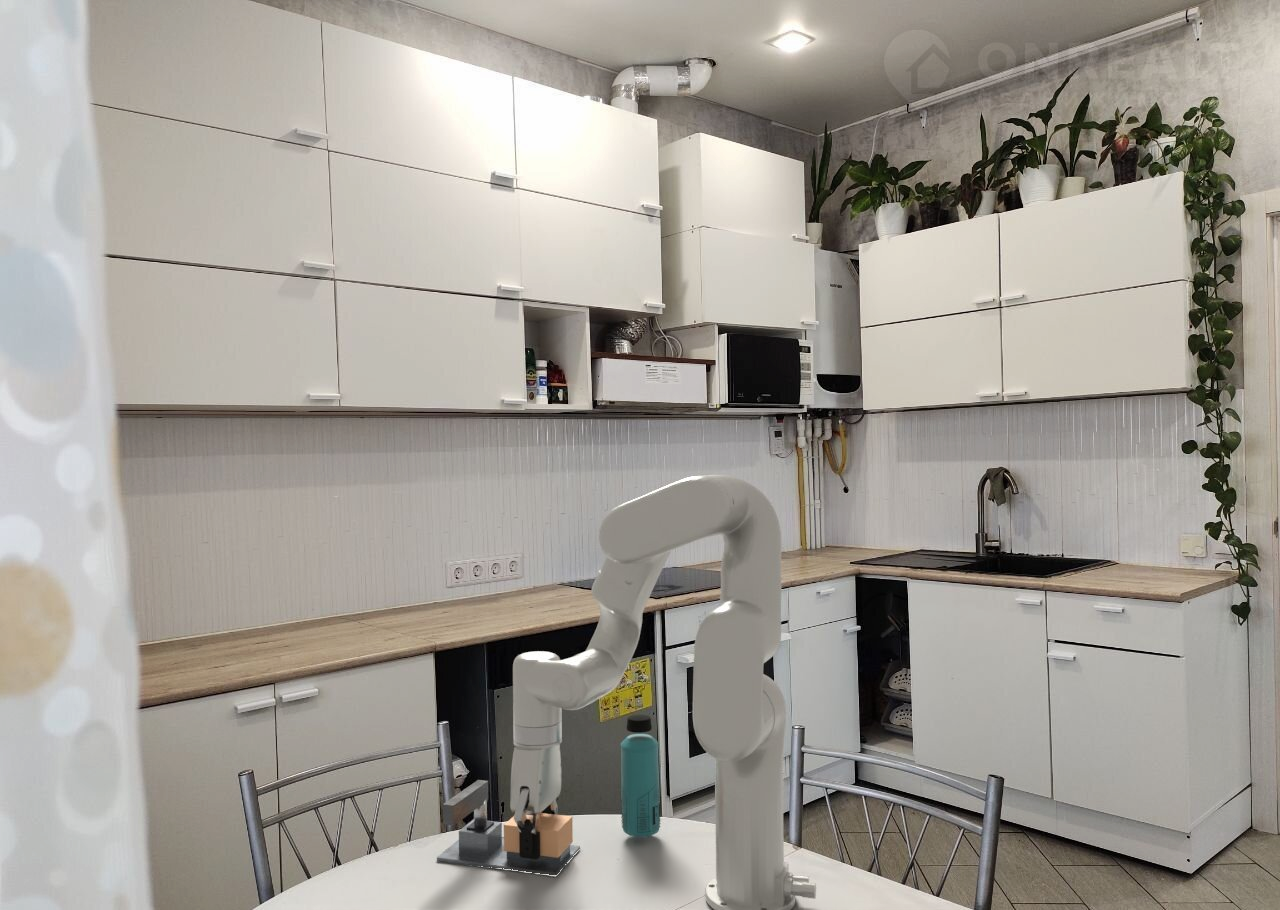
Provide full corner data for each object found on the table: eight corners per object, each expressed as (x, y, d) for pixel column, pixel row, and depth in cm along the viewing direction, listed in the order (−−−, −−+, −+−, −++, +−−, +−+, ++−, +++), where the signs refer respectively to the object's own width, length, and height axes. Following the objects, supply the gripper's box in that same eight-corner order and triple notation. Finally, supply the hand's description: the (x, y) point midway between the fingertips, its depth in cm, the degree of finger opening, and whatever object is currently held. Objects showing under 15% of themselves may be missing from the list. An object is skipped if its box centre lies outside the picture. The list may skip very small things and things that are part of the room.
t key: (454, 849, 135) (454, 805, 135) (442, 847, 135) (442, 804, 136) (489, 821, 145) (488, 781, 145) (477, 820, 146) (477, 779, 146)
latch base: (580, 849, 145) (579, 822, 145) (556, 877, 135) (555, 848, 136) (467, 836, 151) (467, 810, 151) (436, 861, 141) (436, 833, 141)
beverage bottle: (657, 847, 145) (655, 722, 146) (616, 844, 147) (615, 720, 147) (664, 831, 152) (662, 711, 152) (625, 829, 153) (624, 710, 153)
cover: (572, 841, 143) (572, 816, 143) (558, 857, 138) (557, 831, 138) (520, 835, 146) (520, 810, 146) (504, 850, 140) (503, 824, 140)
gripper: (537, 716, 151) (538, 825, 151) (491, 747, 135) (491, 869, 135) (579, 719, 149) (580, 830, 149) (537, 751, 133) (538, 875, 132)
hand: (538, 847), depth 142 cm, fingers closed on cover, 6 cm apart
